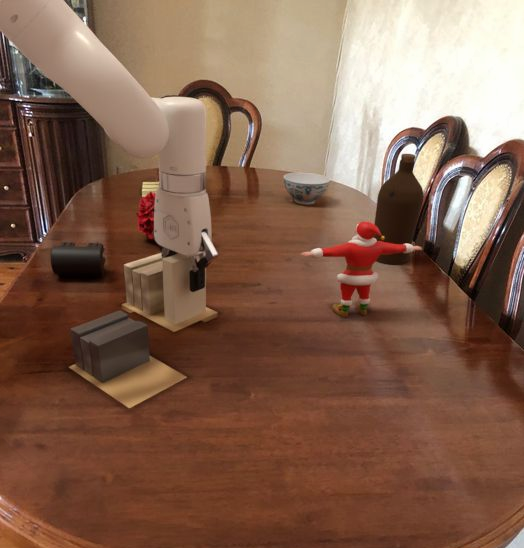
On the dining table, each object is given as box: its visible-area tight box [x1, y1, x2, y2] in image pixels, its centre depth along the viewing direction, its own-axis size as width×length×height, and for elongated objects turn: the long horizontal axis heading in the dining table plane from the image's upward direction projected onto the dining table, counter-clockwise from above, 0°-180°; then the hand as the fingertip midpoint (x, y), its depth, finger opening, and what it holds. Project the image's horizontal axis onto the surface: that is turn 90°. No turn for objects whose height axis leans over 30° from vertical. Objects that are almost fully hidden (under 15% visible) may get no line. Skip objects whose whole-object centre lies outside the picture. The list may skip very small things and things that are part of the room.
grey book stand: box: [68, 310, 188, 409], centre depth 80 cm, size 15×11×8 cm
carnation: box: [135, 191, 156, 241], centre depth 139 cm, size 16×18×35 cm
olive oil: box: [373, 153, 424, 265], centre depth 127 cm, size 11×11×25 cm
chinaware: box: [283, 172, 331, 206], centre depth 172 cm, size 15×15×8 cm
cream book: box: [162, 252, 207, 325], centre depth 95 cm, size 3×8×12 cm, turn 140°
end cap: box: [50, 241, 107, 278], centre depth 111 cm, size 10×7×7 cm
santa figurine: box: [300, 221, 423, 318], centre depth 100 cm, size 25×6×19 cm, turn 107°
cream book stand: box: [121, 252, 219, 333], centre depth 98 cm, size 15×11×9 cm
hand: (184, 283), depth 94 cm, fingers open, 5 cm apart
